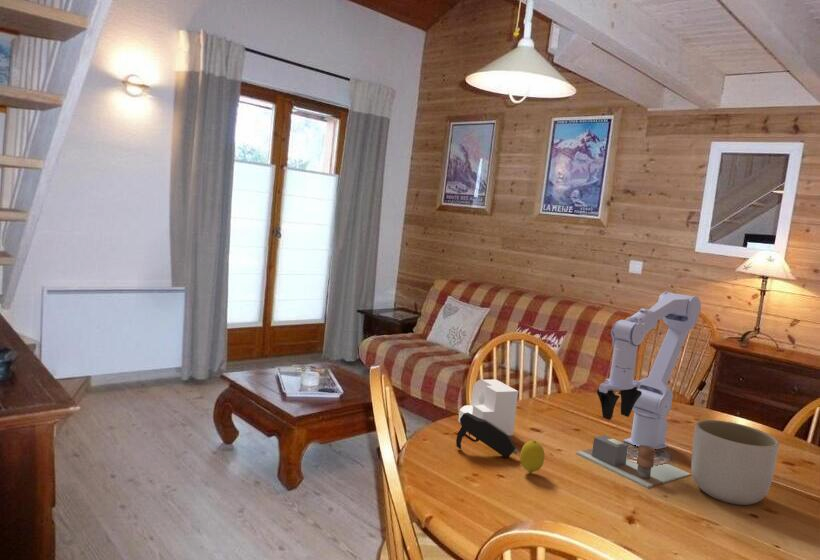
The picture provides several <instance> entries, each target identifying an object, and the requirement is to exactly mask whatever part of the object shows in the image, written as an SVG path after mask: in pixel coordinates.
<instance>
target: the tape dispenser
mask: <svg viewBox="0 0 820 560" xmlns="http://www.w3.org/2000/svg"><path fill="white" fill-rule="evenodd" d="M471 392H472V393H471V399H470V401H471V402H470V405H466V404H465V405H463V406H462V407H461V408H460V409H459V414H458V421H457V422H458V423H460V418H461V417H462V415H463V414H464V413H470V414H472V415H474V416H476V417H478V418H481V419H484V420H486V421H488V422H491V423H492V424H494V425H495V426H497V427H498V428H500V429H501V430H503V431H504V432H506V434H507V435H508V436H514V431H515V430H514V429H515V422H516V413H517V406H518V405H517V404H518V397H519V390H517V389H515V388H513V387H511V386H509V385H508V384H505V383H504V382H502V381H500V380H498V379H493V378H492V379H478V380H477V381H476V382H475V383H474V384H473V387H472V391H471Z"/></svg>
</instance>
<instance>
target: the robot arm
mask: <svg viewBox="0 0 820 560" xmlns="http://www.w3.org/2000/svg"><path fill="white" fill-rule="evenodd" d="M701 306H702V304H701V300H700V298H699V297H698V296H696V295H693V296H692V295H688V294H687V295H686V294H680V293H674V292H670V291H664V292H663V293H661V294H659V297H658V301H657V302H656V303H655V304H654V305H652V306H651V307H650V308H642V307H641V308H640V309H639V311H637V312H636V313H634V314H633V315H631V316H629V317H628V318H626V319H619V320H617V321H616V322H614V323H613V325H612V328H611V331H610V335H611V336H610V337H611V339H612V342H611V345H612V347H613V352H612V353H613V354H612V359H611V367H610V373H609V378H606V379H605V382H603V383H600V384H599V388H598V389H596V390H597V391H596V394H597V397H598V398H599V401H600V407H601V413H602V418H603V419H606V420H608V421H610V420H612V418H613V414H614V409H615V406H616V404H617V402H618V400H619V398H620V415H622V416H624V417H626V418H629V417H630V416H631V413H632V412H633V419H632V420H633V421H632V426H631V434H630V437H629V438H624V439H623V442H625V443H626V444H629V445H632V446H634V445H636V446H635V447H637V446H640V445H645V446H650V447H652V448H654V449H656V450H659V449H660V450H661V449H664V448H668V446H669V445H668V444H666V438H667V431H668V420H667V417H666V416H668V415H669V414H670V412H671V409H672V402H673V399H674V393H673V391H672V389H671V388H670V387H669V385H668V383H669V380H670V378H671V375H672V373H673V370H674V368H675V365H676V363H677V360H678V358H679V355H680V353H681V351H682V348H683V345H684V343H685V340H686V338H687V336H688V333H689V332H690V330H691V329H694V328H695V326H696V324H697V321H698V319H699V316H700V314H701V311H702V307H701ZM659 320H662V322H663V323H664V324H666V325H667V328H668V329H667V331H666V334H665V336H664V339H663V340H662V343H661V345H660V347H659V350H658V353H657V356H656V358H655V360H654V363H653V365H652V368H651V370H650V372H649V375H648V377H645V378H643V379H640V380H636V379H634V376H635V370H636V369H635V367H636V361H637V357H638V356H637V355H638V348H639V345H641V344H642V343H643V341H644V339H645V337H646V335H647V334H648V333H649V332H651V331H652V330H654V328H656V327H657V326H658V322H659ZM618 391H619V392H620V395H619V394H618V395H617V394H615V392H618Z"/></svg>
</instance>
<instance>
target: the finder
mask: <svg viewBox="0 0 820 560" xmlns="http://www.w3.org/2000/svg"><path fill="white" fill-rule="evenodd" d="M592 444H593V445H592V449H593V450H592V456H593V457H595V458H597V459H599V460H601V461H603V462H605V463H607V464H609V465H612V466H614V467H616V466H620V465H624V464H626V459H627V452H628V447H629V445H628V443H626V442H625V443H624V442H622V441H620V440H618V439H615V438H613V437H610V436H608V435H606V434H605V435H600V436H594V437H593V443H592Z"/></svg>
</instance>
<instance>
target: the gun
mask: <svg viewBox="0 0 820 560" xmlns="http://www.w3.org/2000/svg"><path fill="white" fill-rule="evenodd" d="M459 423H460V425H461V427H460V428H459V430H458V432H457V434H456V440H455V445H456V447H457V448H458V449H459V450H462V440H463V438H464V437H465V438H466V439H468V440H470V441H471V442H474V443H477V442H479V441H480V442H482V443H483V444H484V445H486V446H488V447H489V448H490V449H492V450H494V451H495V452H496V453H498V454H499V455H501V456H502V457H504V458H510V456H511V455H512V454H515V455H517V454H518V453H519V450H518V449H517V448H516V445H515V442H514V440H512V438H511V437H510V435H507V434H506V432H504V431H503V430H501V429H500V428H498V427H497V426H495V425H494V424H492V423H491V422H488V421H486V420H484V419H481V418H478V417H476V416H474V415H472V414H470V413H464V414H463V415H462V417H461V418H460V422H459ZM467 433H468V434H467ZM471 436H472V437H473V438H472V437H471ZM474 437H475V439H474Z"/></svg>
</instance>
